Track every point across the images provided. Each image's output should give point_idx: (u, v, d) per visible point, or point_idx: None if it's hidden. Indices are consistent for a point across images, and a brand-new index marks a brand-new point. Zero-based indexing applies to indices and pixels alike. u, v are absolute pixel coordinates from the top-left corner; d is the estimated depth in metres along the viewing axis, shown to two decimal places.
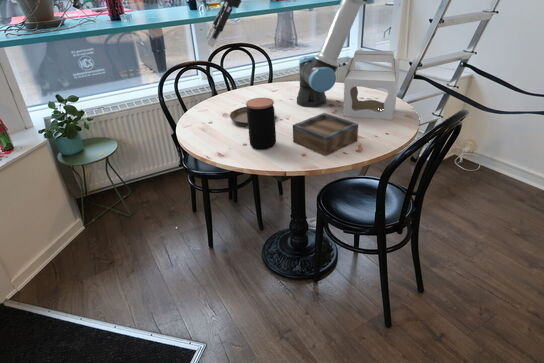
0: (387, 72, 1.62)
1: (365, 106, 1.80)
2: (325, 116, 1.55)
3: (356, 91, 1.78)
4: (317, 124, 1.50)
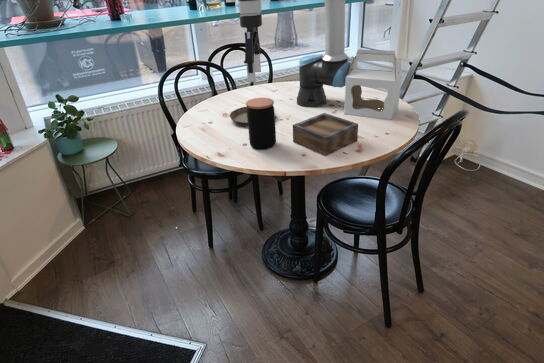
0: (388, 72, 1.62)
1: (369, 105, 1.81)
2: (325, 116, 1.55)
3: (359, 90, 1.79)
4: (317, 124, 1.50)
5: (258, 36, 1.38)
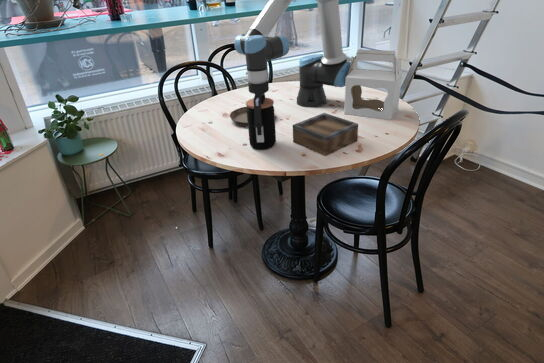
0: (388, 72, 1.62)
1: (369, 105, 1.81)
2: (325, 116, 1.55)
3: (359, 90, 1.79)
4: (317, 124, 1.50)
5: None
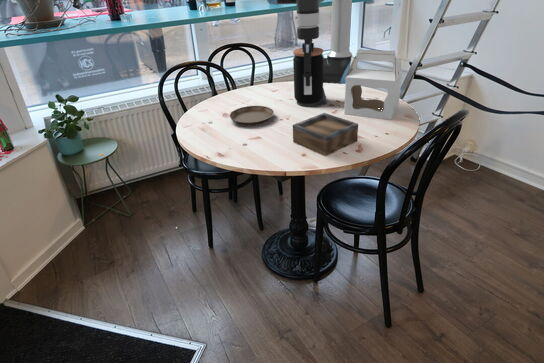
0: (388, 72, 1.62)
1: (369, 105, 1.81)
2: (325, 116, 1.55)
3: (360, 90, 1.79)
4: (317, 124, 1.50)
5: None
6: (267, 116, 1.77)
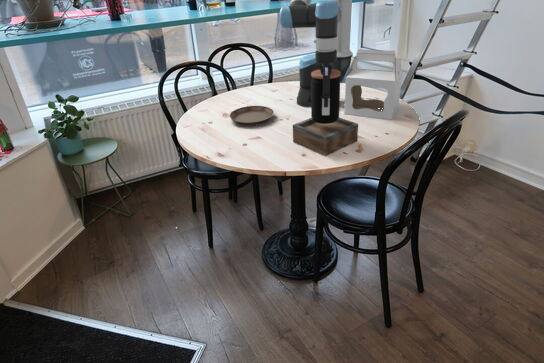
0: (388, 72, 1.62)
1: (369, 105, 1.81)
2: None
3: (360, 90, 1.79)
4: (317, 124, 1.50)
5: None
6: (267, 116, 1.77)
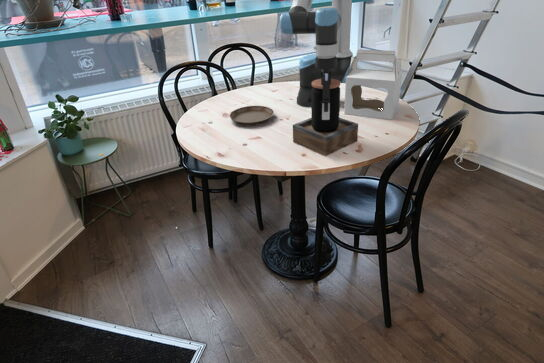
0: (388, 72, 1.62)
1: (369, 105, 1.81)
2: None
3: (360, 90, 1.79)
4: None
5: None
6: (267, 116, 1.77)
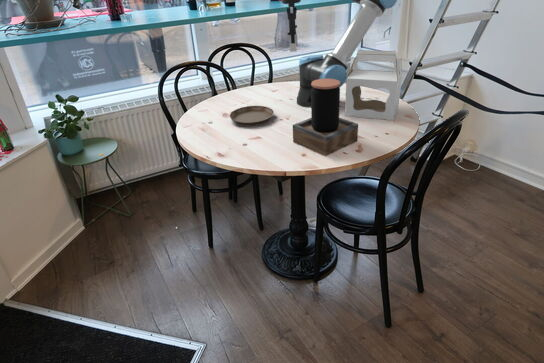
0: (389, 72, 1.61)
1: (368, 106, 1.80)
2: None
3: (359, 90, 1.78)
4: None
5: None
6: (267, 116, 1.77)
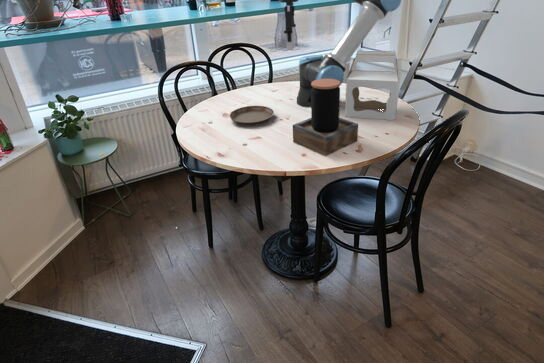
0: (389, 72, 1.61)
1: (366, 106, 1.79)
2: None
3: (357, 91, 1.77)
4: None
5: None
6: (267, 116, 1.77)
